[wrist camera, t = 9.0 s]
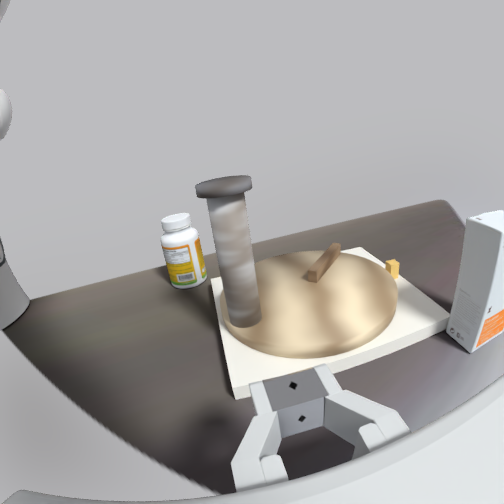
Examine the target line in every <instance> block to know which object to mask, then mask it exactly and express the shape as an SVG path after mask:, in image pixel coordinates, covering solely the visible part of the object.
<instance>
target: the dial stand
mask: <svg viewBox="0 0 504 504" xmlns="http://www.w3.org/2000/svg"><path fill="white" fill-rule="evenodd" d="M341 252H342V253H348V254H353V255H357V256H360V257H364V258H366V259H369V260H371V261H373V262H375V263H377V264H379V265H380V266H382V267H383V268H385V269H386V270H387V271H388V272H389V273H390V274H391V275H392V277H393V278H394V280H395V282H396V285H397V288H398V298H397V307H396V312H395V315H394V317H393V319H392V321H391V323H390V324H389V326H388V327H387V328H386V329H385V330H384V331H383V332H382V333H381V334H380V335H379V336H377V337H376V338H375V339H373V340H372V341H370V342H368V343H367V344H365V345H363V346H361V347H359V348H356V349H354V350H351V351H349V352H345V353H341V354H338V355H334V356H328V357H321V358H307V359H301V358H286V357H279V356H274V355H270V354H266V353H263V352H260V351H258V350H255V349H252V348H250V347H249V346H247V345H245V344H243V343H242V342H240V341H239V340H238V339H236V338H235V337H234V336H233V335H232V334H231V333H230V332H229V330H228V329H227V327H226V326H225V323H224V320H223V317H222V312H221V308H220V296H221V293H222V290H223V284H222V279H221V277H218V278H213V279H211V283H212V289H213V294H214V300H215V305H216V310H217V316H218V321H219V326H220V331H221V336H222V341H223V346H224V351H225V356H226V361H227V366H228V370H229V375H230V380H231V384H232V389H233V392H234V396H235V400H237V399H241V398H246V397H251V394H250V389H249V383H252V382H257V381H262V380H265V379H270V378H274V377H279V376H283V375H287V374H290V373H293V372H297V371H300V370H304V369H307V368H310V367H314V366H317V365H320V364H323V363H325V364H327V366H328V367H329V369H330V371H331V372H332V374H334V373H337V372H340V371H343V370H346V369H349V368H352V367H355V366H358V365H361V364H363V363H366V362H369V361H372V360H374V359H377V358H380V357H382V356H385V355H387V354H390V353H392V352H395V351H397V350H400V349H402V348H405V347H407V346H409V345H412V344H414V343H416V342H419V341H421V340H423V339H425V338H428V337H430V336H432V335H434V334H436V333H438V332H441V331H443V330H445V329H447V325H448V321H449V317H450V314H449V313H448V312H447V311H445V310H444V309H443V308H442V307H440V306H439V305H438V304H437V303H435V302H434V301H433V300H432V299H430V298H429V297H428V296H426V295H425V294H424V293H422V292H421V291H420V290H419V289H417V288H416V287H415V286H413V285H412V284H411V283H409V282H408V281H407V280H405V279H404V278H403V277H401V276H400V275H399V274H398V273H399V263H398V262H397V261H396V260H394V259H393V260H389V261H386V265H385V264H384V263H382V262H381V261H379V260H378V259H377V258H375V257H374V256H372V255H371V254H370V253H368V252H367V251H365V250H364V249H363V248H361V247H358V248H354V249H349V250H345V251H341Z"/></svg>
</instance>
